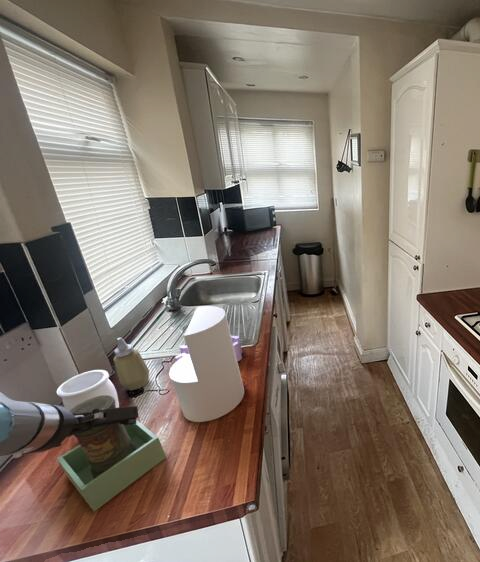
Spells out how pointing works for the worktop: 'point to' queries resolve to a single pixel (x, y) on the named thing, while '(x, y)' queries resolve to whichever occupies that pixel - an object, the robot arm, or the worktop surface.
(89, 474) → the tub
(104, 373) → the jar
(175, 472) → the worktop surface
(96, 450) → the container
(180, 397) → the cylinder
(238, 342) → the clip
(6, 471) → the worktop surface
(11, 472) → the worktop surface
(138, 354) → the squeeze bottle
